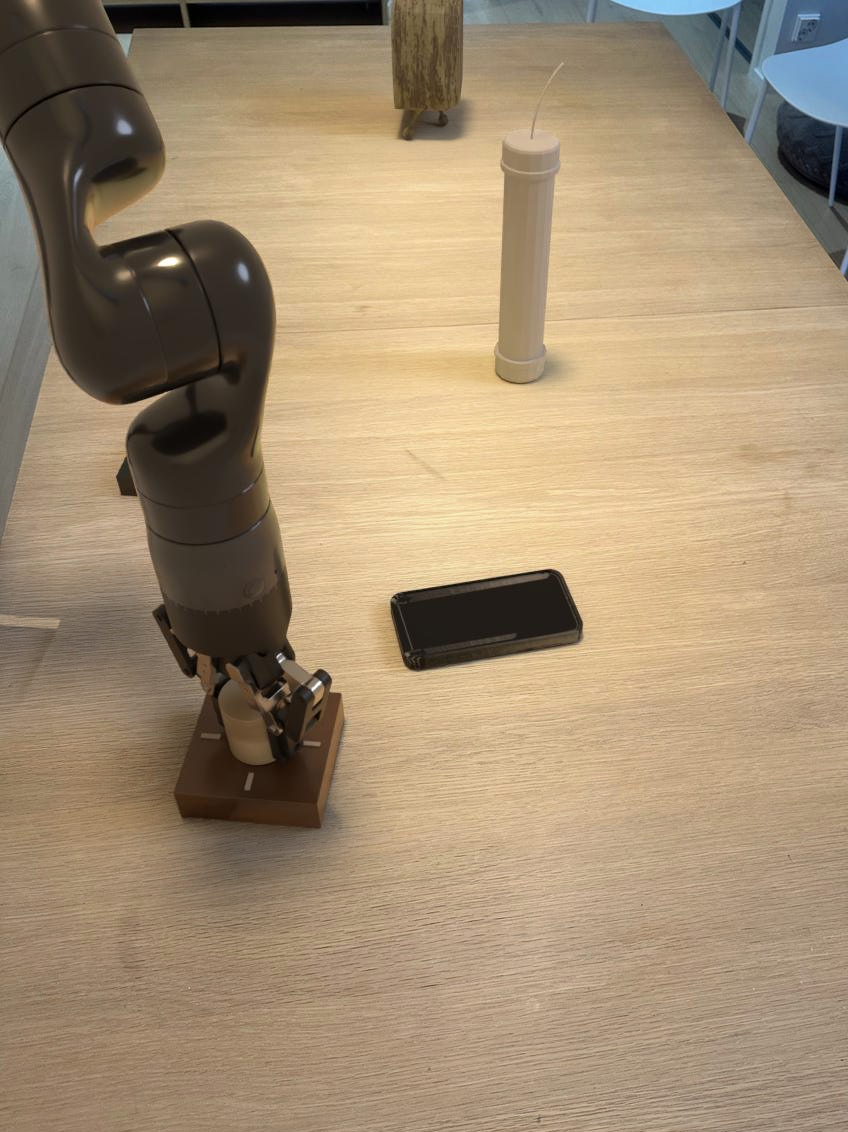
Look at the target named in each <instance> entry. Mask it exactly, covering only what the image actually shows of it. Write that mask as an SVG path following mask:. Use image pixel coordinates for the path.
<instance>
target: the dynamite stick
mask: <svg viewBox="0 0 848 1132" xmlns="http://www.w3.org/2000/svg"><path fill="white" fill-rule="evenodd" d="M564 65H565V62H564V61H561V63H560V64H559V65H558V66H557V67H556V69H555V70H554V72H552V74H551V76H550V77H549V79H548V81H547V82H546V84H545V86H544V88H543V89H542V92H541V95H540V97H539V99H538V102H537V105H536V108H535V112H534V116H533V119H532V124H531V127H530V128H520V129H515V130H512V131H510V132H508V133H506V134H505V136H504V137H503V139H502V145H501V146H502V147H501V158H500V160H499V161H500V162H499V167H500V171H502V172H503V173H504V174H503V178H504V179H503V199H502V201H503V202H502V204H503V205H502V228H501V229H502V230H501V231H502V232H501V256H500V259H501V260H500V286H499V311H498V312H499V313H498V341H497V342H496V344H495V346H494V347H493V353H494V357H495V358H494V368H495V372H496V374H497V375H498V376H499V377H500V378H501V379H503V380H506V381H507V382H510V383H518V384H522V383H524V384H525V383H530V382H533V381H536V380H538V379H539V378H540V377H541V376H542V375H543V372H544V370H545V362H546V361H545V360H546V357H547V353H548V352H547V348H546V345H545V344H544V337H545V335H544V334H545V323H546V312H547V311H546V309H547V296H548V281H549V267H550V251H551V239H552V226H553V223H552V222H553V212H554V197H555V196H554V195H555V183H556V182H555V181H556V175H557V174H559V171H560V169H561V160H560V155H561V142H560V139H559V136H557V134H556V135H555V133H553V132H551V131H548V130H544V129H540V128H535V126H536V125H535V124H536V120H537V116H538V112H539V110H540V106H541V103H542V100H543V98H544V96H545V93H546V91H547V89H548V87H549V85H550V83H551V82H552V81H553V79H554V77H555V76H556V74H557V73H558V72H559V70H560V69H561V68H562V67H563V66H564Z"/></svg>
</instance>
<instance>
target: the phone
mask: <svg viewBox="0 0 848 1132" xmlns="http://www.w3.org/2000/svg"><path fill="white" fill-rule="evenodd" d="M389 605H390V606H389V607H390V615H391V620H392V623H393V627H394V631H395V634H396V639H397V642H398V645H399V650H400V652H401V656H402V660H403V663H404V664H405V666H407V667H408V668H411V669H416V670H418V669H419V670H420V669H425V668H431V667H437V666H444V665H450V664H454V663H461V662H462V663H463V662H466V661H473V660H477V659H478V660H479V659H484V658H490V657H495V656H496V657H497V656H501V655H502V656H503V655H508V654H513V653H519V652H526V651H530V650H538V649H543V648H549V647H554V646H561V645H567V644H572V643H575V642H577V641H579V640H580V639H581V638H582V635H583V629H584V621H583V619H582V617H581V614H580V612H579V609H578V607H577V605H576V603H575V600H574V598H573V595H572V593H571V591H570V588H569V585H568V584H567V581H566V579H565V577H564V575H563V574H562V573H561V572H560V571H559V570H557V569H553V568H544V569H537V570H533V571H525V572H520V573H514V574H505V575H501V576H494V577H488V578H487V577H486V578H482V579H475V580H469V581H468V580H467V581H462V582H455V583H450V584H444V585H443V584H442V585H437V586H431V587H423V588H417V589H412V590H404V591H401V592H397V593H395V594H393V595H392V596H391V597H390V600H389Z"/></svg>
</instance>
